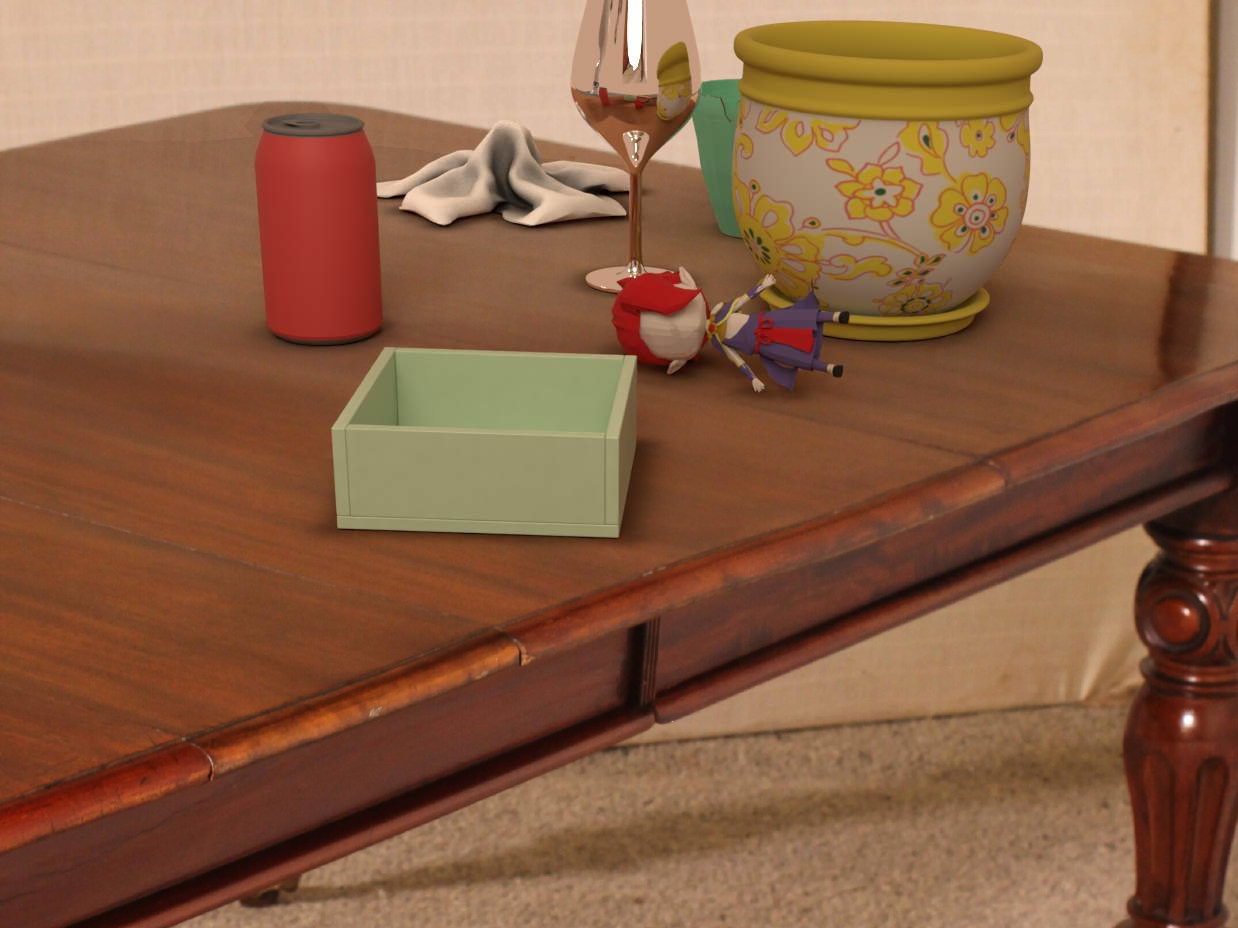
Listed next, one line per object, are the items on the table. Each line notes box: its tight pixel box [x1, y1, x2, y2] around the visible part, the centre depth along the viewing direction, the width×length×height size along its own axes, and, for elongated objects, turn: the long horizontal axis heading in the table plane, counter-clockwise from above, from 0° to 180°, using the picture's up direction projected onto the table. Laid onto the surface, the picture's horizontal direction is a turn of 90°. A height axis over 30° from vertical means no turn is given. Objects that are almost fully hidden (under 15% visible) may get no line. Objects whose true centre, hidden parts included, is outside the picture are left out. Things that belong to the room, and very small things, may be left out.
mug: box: [691, 78, 743, 239], centre depth 134 cm, size 15×10×10 cm
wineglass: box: [569, 0, 703, 294], centre depth 118 cm, size 8×8×18 cm
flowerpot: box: [732, 19, 1044, 342], centre depth 113 cm, size 18×18×16 cm
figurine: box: [611, 265, 850, 393], centre depth 102 cm, size 6×8×15 cm
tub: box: [330, 346, 638, 539], centre depth 86 cm, size 12×12×5 cm
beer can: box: [254, 112, 384, 346], centre depth 107 cm, size 7×7×12 cm
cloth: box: [376, 119, 629, 227], centre depth 141 cm, size 22×19×6 cm
